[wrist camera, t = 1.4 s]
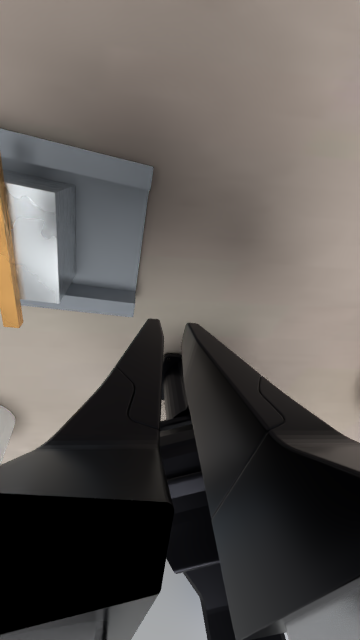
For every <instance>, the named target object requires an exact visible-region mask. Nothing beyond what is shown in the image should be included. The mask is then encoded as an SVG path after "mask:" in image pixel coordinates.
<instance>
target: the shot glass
mask: <svg viewBox="0 0 360 640" xmlns="http://www.w3.org/2000/svg"><path fill="white" fill-rule="evenodd" d="M14 426H15V417H14V415H13V414H12V412H11V411H9V410H8V409H6V408H5V407H3V406H1V405H0V465H1V462H2V459H3V456H4V454H5V451H6V448H7V445H8V442H9V440H10V437H11V434H12V431H13V428H14Z"/></svg>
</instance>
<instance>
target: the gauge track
mask: <svg viewBox="0 0 360 640" xmlns="http://www.w3.org/2000/svg"><path fill="white" fill-rule="evenodd" d="M0 153H1V160H2V168H3V170H6V171H11V172H15V173H20V174H25V175H29V176H34V177H38V178H43V179H47V180H52V181H57V182H61V183H66V184H70V185H75V244H76V276H75V277H74V279H73V281H72V283H71V284H70V286H69V288H68V290H67V291H66V293H65V295H64V297H63V298H62V300H61V302H60V304H57V303H49V302H40V301H31V300H22V299H20V302H21V305H24V306H33V307H42V308H51V309H61V310H70V311H79V312H88V313H98V314H107V315H116V316H125V317H133V315H134V307H135V291H136V283H137V276H138V268H139V261H140V253H141V246H142V238H143V231H144V223H145V216H146V208H147V201H148V193H149V190H151V182H152V175H153V168H154V167H152V166H148V165H145V164H141V163H137V162H133V161H129V160H125V159H121V158H117V157H113V156H109V155H105V154H101V153H97V152H93V151H89V150H85V149H81V148H77V147H73V146H69V145H65V144H61V143H57V142H53V141H49V140H45V139H41V138H37V137H33V136H29V135H25V134H21V133H17V132H13V131H9V130H5V129H1V128H0Z"/></svg>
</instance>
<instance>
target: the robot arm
mask: <svg viewBox="0 0 360 640" xmlns="http://www.w3.org/2000/svg"><path fill="white" fill-rule="evenodd" d="M163 350H164V336H163V332H162V328H161V324H160V321H159V320H158V319H148V320H147V321H146V323H145V324H144V326H143V327H142V328H141V330H140V331H139V333H138V334H137V336H136V337H135V338H134V340H133V341H132V343H131V344H130V346H129V347H128V349H127V350H126V351H125V353H124V354H123V356H122V357H121V359H120V360H119V361H118V363H117V364H116V366H115V368H113V370H112V371H111V373H110V374H109V376H108V377H107V378H106V380H105V381H104V382H103V383H102V385H101V386H100V387H99V388H98V389H97V390H96V392H95V393H94V394H93V395H92V396H91V397H90V398H89V399H88V400H87V401H86V402H85V403H84V405H83V406H82V407H81V408H80V409H79V410H78V411H77V412H76V413H75V414H74V415H73V416H72V417H71V418H70V419H69V420H68V421H67V422H66V423H65V424H64V425H63V426H62V427H61V428H60V430H59V431H58V432H57V433H56V434H55V435H54V436H52V437H51V438H50V439H49V440H48V441H47V442H45V443H44V444H43V445H41V446H40V447H38V448H37V449H35V450H33V451H31V452H29V453H27V454H25V455H22V456H20V457H18V458H16V459H13V460H11V461H9V462H6V463H4V464H2V465H0V640H131V639H132V637H133V635H134V634H135V632H136V630H137V629H138V627H139V626H140V624H141V622H142V621H143V619H144V617H145V616H146V614H147V612H148V611H149V609H150V608H151V606H152V604H153V603H154V601H155V599H156V597H157V596H158V594H159V593H160V591H161V586H162V580H163V574H164V568H165V562H166V558H167V560H168V562H169V564H170V566H171V568H172V569H173V571H174V572H175V573H176V574H178V573H182V572H183V573H184V575H185V576H186V578H187V579H188V581H189V582H190V584H191V585H192V587H193V588H194V589H195V591H196V592H197V594H198V595H199V597H200V600H201V605H202V611H203V616H204V622H205V628H206V633H207V639H208V640H286V639H285V635H284V633H285V632H287V635H288V638H289V640H360V443H359V442H356V441H354V440H352V439H350V438H348V437H346V436H344V435H343V434H341V433H340V432H338V431H336V430H335V429H334V428H332V427H331V426H329V425H328V424H327V423H325V422H324V421H322V420H321V419H319V418H318V417H317V416H315V415H314V414H312V413H311V412H310V411H308V410H307V409H305V408H304V407H302V406H301V405H300V404H298V403H297V402H295V401H294V400H293V399H291V398H290V397H289V396H287V395H286V394H284V393H283V392H282V391H281V390H279V389H278V388H277V387H275V386H274V385H273V384H272V383H270V382H269V381H268V380H267V379H265V378H264V377H263V376H261V375H260V374H259V373H258V372H257V371H255V370H254V369H253V368H252V367H251V366H249V365H248V364H247V363H246V362H244V361H243V360H242V359H241V358H239V357H238V356H237V355H236V354H234V353H233V352H232V351H231V350H230V349H228V348H227V347H226V346H225V345H223V344H222V343H221V342H220V341H218V340H217V339H216V338H215V337H213V336H212V335H211V334H210V333H209V332H207V331H206V330H205V329H204V328H202V327H201V326H200V325H199V324H196V323H187V324H186V327H185V330H184V334H183V338H182V342H181V350H182V355H179V354H166V355H165V356H164V357H163ZM167 358H170V359H167ZM161 400H164V401H165V410H166V420H164V421H160V420H161Z"/></svg>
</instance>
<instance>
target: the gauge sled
mask: <svg viewBox="0 0 360 640" xmlns="http://www.w3.org/2000/svg"><path fill="white" fill-rule="evenodd" d="M75 276H76V244H75V185H70V184H66V183H61V182H57V181H52V180H47V179H43V178H38V177H34V176H29V175H25V174H20V173H15V172H11V171H6V170H3V168H2V160H1V153H0V309H1V315H2V320H3V325H4V327H14V328H19V327H20V326H21V325H22V323H23V317H22V310H21V302H20V299H22V300H31V301H40V302H49V303H57V304H60V302H61V300H62V298H63V297H64V295H65V293H66V291H67V290H68V288H69V286H70V284H71V283H72V281H73V279H74V277H75Z"/></svg>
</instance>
